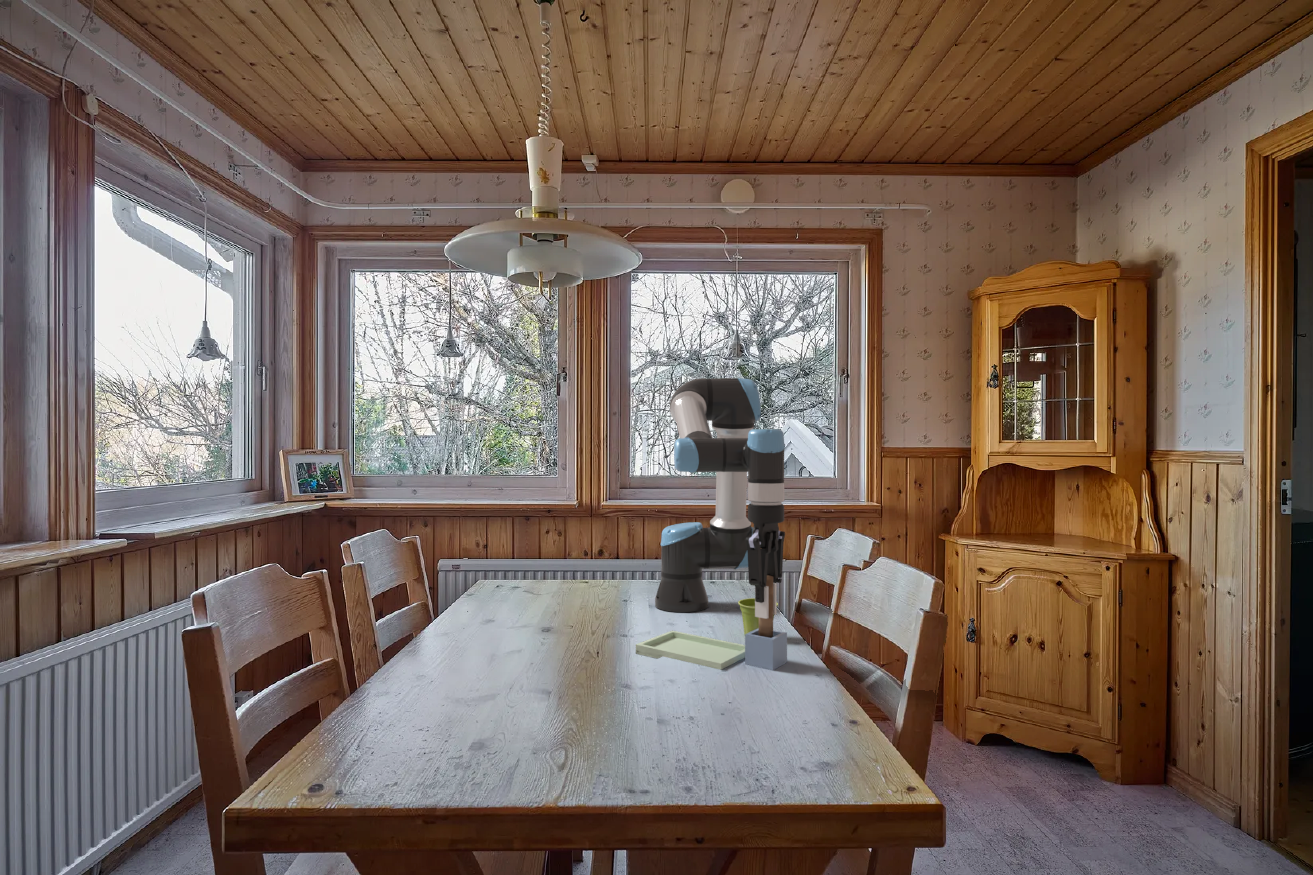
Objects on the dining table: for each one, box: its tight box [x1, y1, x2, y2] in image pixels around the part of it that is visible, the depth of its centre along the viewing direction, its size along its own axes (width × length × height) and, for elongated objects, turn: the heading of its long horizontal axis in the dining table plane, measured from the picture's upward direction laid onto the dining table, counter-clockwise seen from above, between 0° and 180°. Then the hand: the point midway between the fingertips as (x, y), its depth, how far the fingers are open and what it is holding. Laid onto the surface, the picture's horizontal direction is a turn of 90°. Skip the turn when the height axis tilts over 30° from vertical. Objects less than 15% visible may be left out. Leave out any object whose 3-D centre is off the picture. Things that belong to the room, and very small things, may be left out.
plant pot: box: [737, 597, 779, 636], centre depth 165 cm, size 9×9×9 cm
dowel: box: [759, 575, 774, 638], centre depth 145 cm, size 3×3×16 cm
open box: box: [744, 628, 788, 672], centre depth 144 cm, size 6×6×7 cm
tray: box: [635, 630, 745, 670], centre depth 153 cm, size 14×22×2 cm, turn 53°
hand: (765, 615), depth 145 cm, fingers closed on dowel, 3 cm apart
